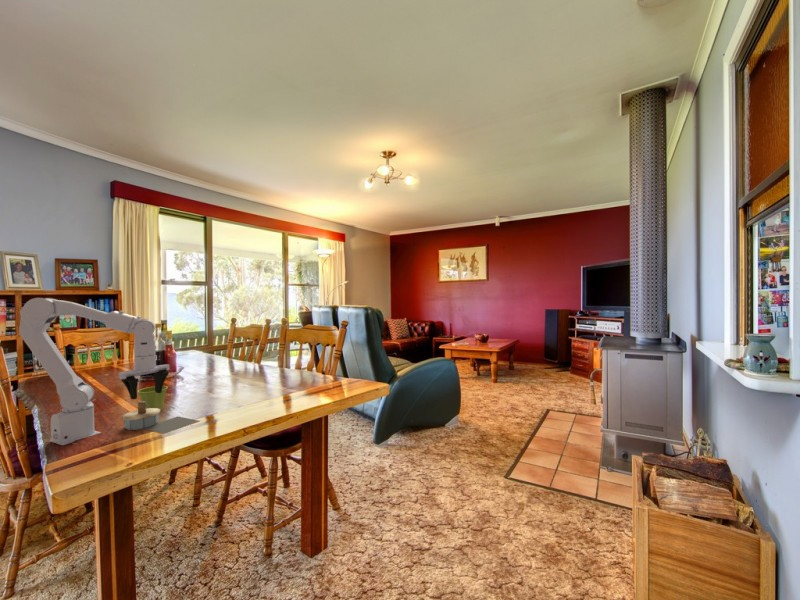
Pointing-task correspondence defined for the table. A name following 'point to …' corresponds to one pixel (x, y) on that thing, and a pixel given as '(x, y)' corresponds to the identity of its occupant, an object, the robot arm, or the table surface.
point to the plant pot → (153, 397)
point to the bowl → (141, 423)
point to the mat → (171, 425)
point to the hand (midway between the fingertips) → (146, 395)
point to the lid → (141, 412)
